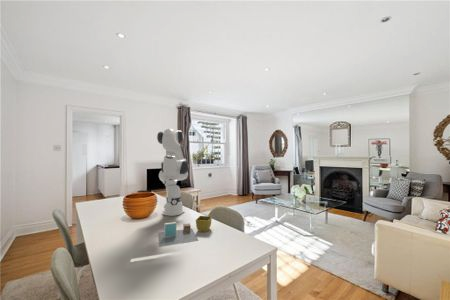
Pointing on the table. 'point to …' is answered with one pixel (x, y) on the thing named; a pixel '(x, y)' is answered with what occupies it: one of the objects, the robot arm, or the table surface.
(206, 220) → the flower pot
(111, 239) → the table surface
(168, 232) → the tile
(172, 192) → the robot arm
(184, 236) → the board
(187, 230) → the walnut block
